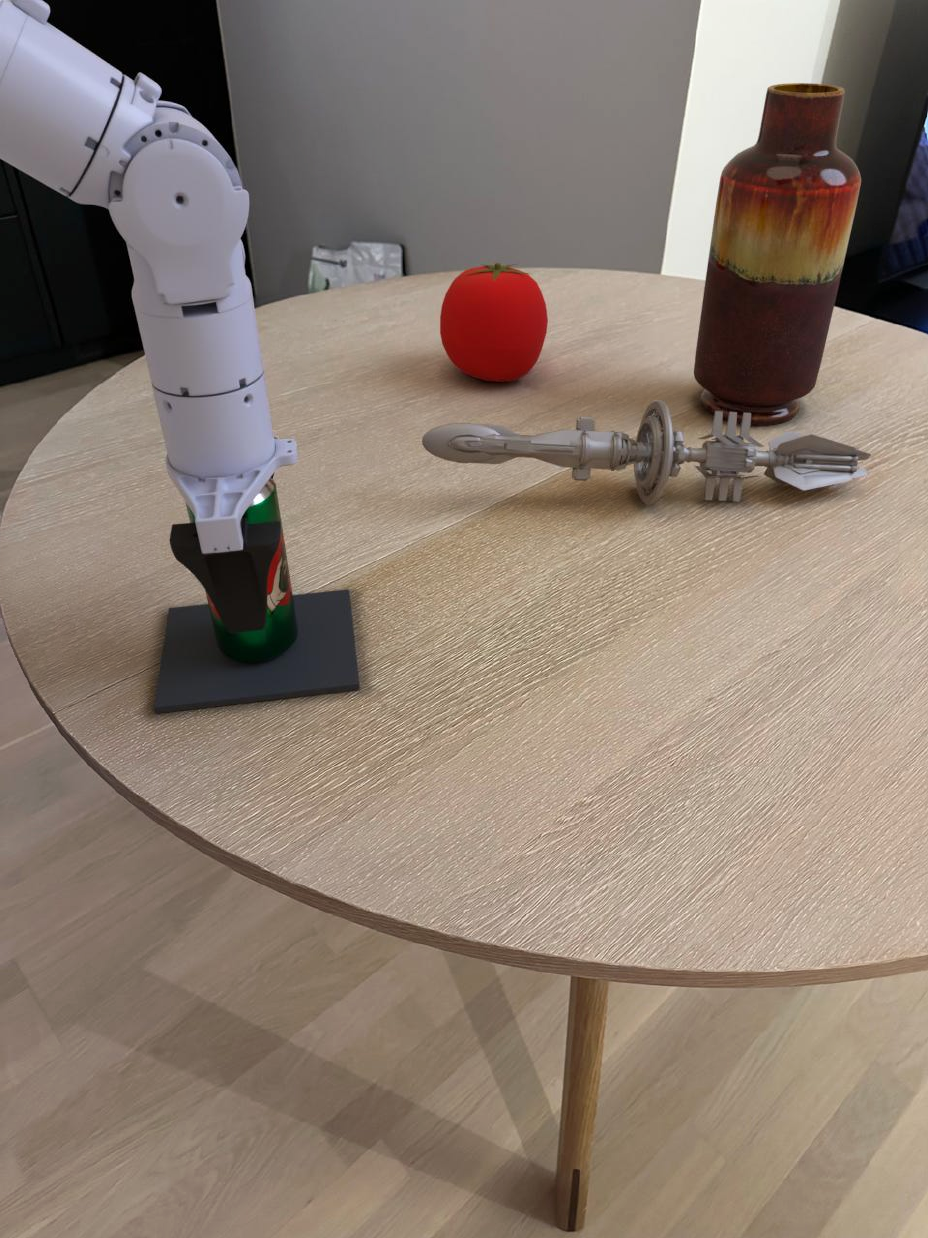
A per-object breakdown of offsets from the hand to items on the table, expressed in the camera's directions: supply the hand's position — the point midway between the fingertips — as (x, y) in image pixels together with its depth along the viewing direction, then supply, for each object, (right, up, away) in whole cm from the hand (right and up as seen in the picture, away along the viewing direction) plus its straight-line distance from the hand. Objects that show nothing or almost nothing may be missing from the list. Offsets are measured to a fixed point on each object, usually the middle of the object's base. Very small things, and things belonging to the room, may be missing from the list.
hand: (248, 589), depth 56 cm
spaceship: (+27, +8, +18) cm, 33 cm away
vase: (+40, +18, +31) cm, 54 cm away
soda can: (0, -3, +3) cm, 4 cm away
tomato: (+16, +23, +38) cm, 47 cm away
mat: (0, -4, +3) cm, 5 cm away
